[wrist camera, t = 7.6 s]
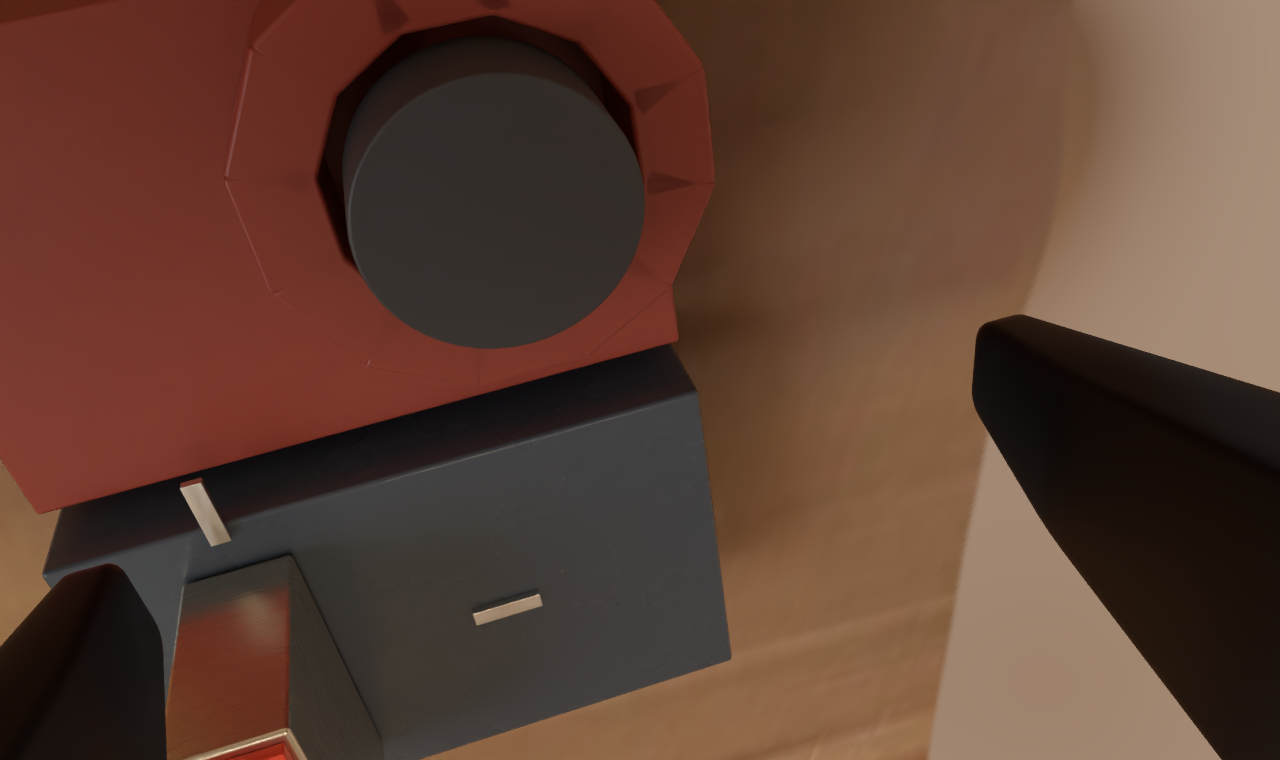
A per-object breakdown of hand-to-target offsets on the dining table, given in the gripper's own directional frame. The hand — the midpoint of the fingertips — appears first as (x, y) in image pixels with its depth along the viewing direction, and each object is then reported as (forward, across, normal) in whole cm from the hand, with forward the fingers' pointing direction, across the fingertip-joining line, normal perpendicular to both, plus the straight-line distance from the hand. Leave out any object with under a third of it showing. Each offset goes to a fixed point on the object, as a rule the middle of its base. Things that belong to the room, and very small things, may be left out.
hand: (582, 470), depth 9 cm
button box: (+10, +3, +1) cm, 11 cm away
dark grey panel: (+10, +4, +9) cm, 15 cm away
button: (+7, 0, 0) cm, 7 cm away
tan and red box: (+7, +6, +9) cm, 13 cm away
